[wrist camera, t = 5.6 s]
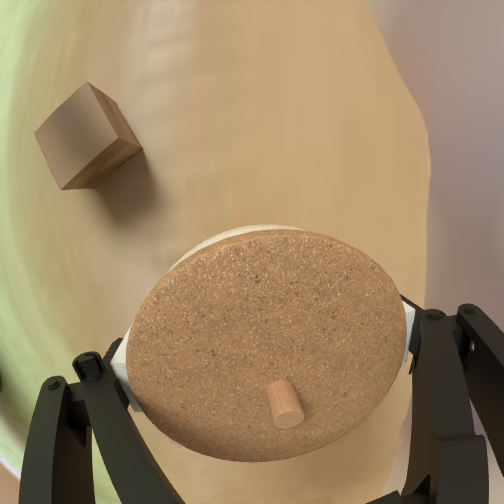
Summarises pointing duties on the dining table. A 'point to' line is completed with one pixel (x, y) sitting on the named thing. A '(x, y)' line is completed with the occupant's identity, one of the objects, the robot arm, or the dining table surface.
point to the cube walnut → (86, 139)
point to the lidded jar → (266, 344)
